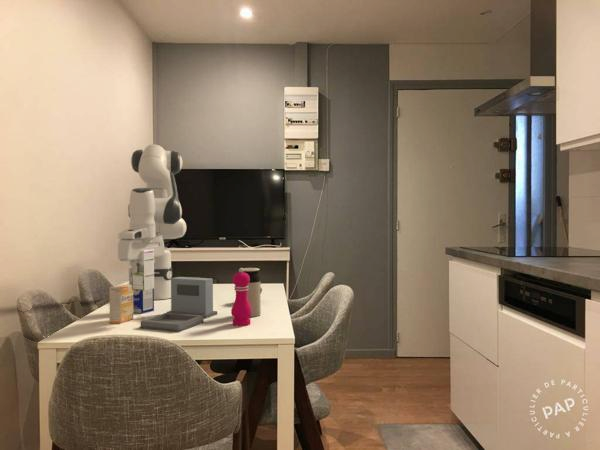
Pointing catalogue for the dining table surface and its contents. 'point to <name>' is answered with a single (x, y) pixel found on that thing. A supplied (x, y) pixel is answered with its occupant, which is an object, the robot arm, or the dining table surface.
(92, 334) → the dining table surface
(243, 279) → the red pepper mill
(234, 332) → the dining table surface
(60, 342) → the dining table surface
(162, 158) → the robot arm
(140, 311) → the milk carton
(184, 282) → the control unit
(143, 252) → the syrup box
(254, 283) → the travel mug
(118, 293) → the supplement box
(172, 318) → the parts tray
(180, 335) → the dining table surface
